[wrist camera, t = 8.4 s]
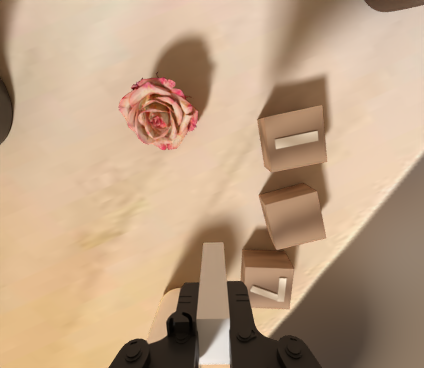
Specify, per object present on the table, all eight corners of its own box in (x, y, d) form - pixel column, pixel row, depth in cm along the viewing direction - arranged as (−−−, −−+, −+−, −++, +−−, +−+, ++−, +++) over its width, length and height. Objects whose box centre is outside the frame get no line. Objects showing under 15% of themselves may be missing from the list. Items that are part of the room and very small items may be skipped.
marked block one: (257, 119, 31) (264, 117, 26) (305, 109, 31) (322, 104, 26) (264, 166, 33) (272, 172, 28) (310, 157, 32) (327, 161, 27)
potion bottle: (204, 325, 40) (192, 475, 22) (160, 320, 40) (113, 466, 23) (207, 286, 38) (196, 418, 20) (161, 282, 38) (110, 410, 21)
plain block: (258, 194, 34) (264, 205, 29) (302, 182, 33) (317, 191, 28) (268, 233, 35) (276, 250, 30) (311, 223, 35) (326, 238, 30)
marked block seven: (242, 248, 36) (245, 267, 31) (284, 250, 36) (294, 269, 31) (240, 284, 38) (243, 308, 33) (280, 286, 38) (289, 310, 32)
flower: (118, 77, 29) (98, 110, 24) (178, 46, 26) (169, 75, 21) (160, 132, 36) (151, 166, 30) (210, 111, 33) (210, 145, 28)
